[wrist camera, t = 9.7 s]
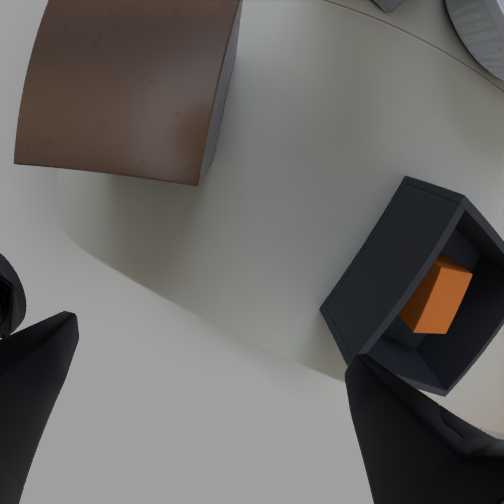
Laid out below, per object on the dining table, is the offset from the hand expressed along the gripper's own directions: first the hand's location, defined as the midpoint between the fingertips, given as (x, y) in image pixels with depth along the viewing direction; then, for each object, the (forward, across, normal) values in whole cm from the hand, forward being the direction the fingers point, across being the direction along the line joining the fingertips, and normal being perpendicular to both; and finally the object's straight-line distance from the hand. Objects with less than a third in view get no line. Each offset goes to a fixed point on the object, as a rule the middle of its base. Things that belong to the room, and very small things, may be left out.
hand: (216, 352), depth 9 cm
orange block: (+11, -15, +1) cm, 19 cm away
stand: (+12, +5, -8) cm, 15 cm away
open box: (+12, -16, +1) cm, 20 cm away
